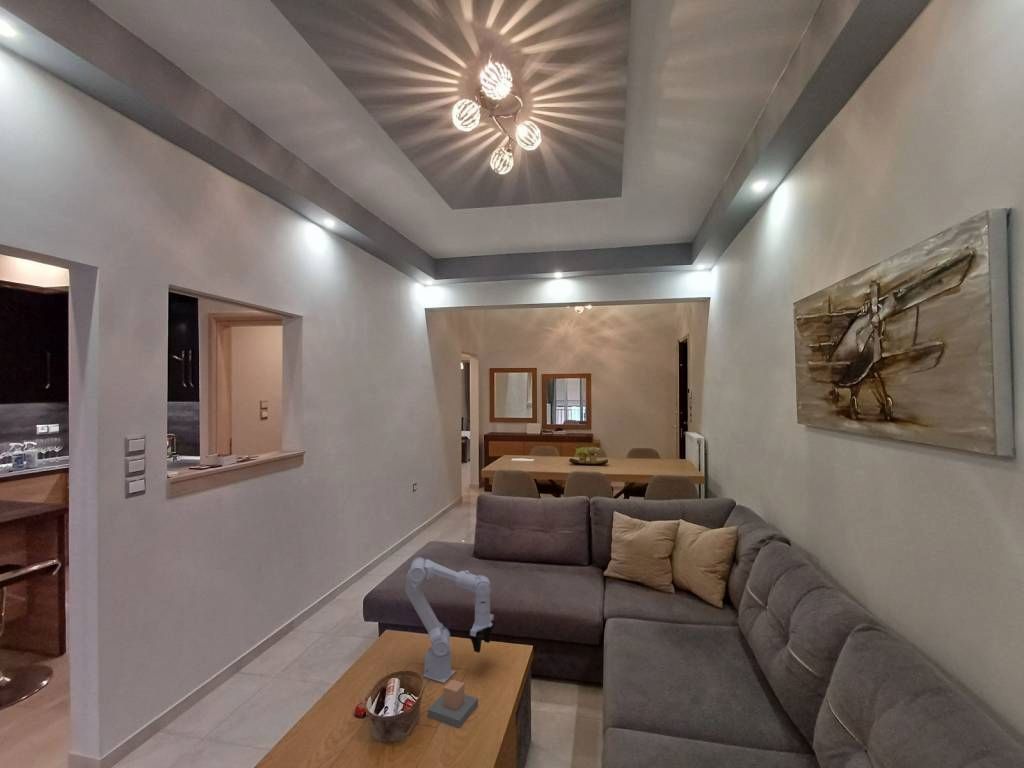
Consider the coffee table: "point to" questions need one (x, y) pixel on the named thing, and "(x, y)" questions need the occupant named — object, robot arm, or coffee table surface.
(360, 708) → the race car
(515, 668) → the coffee table surface
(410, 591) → the robot arm
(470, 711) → the charcoal flat pad
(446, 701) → the terracotta block
